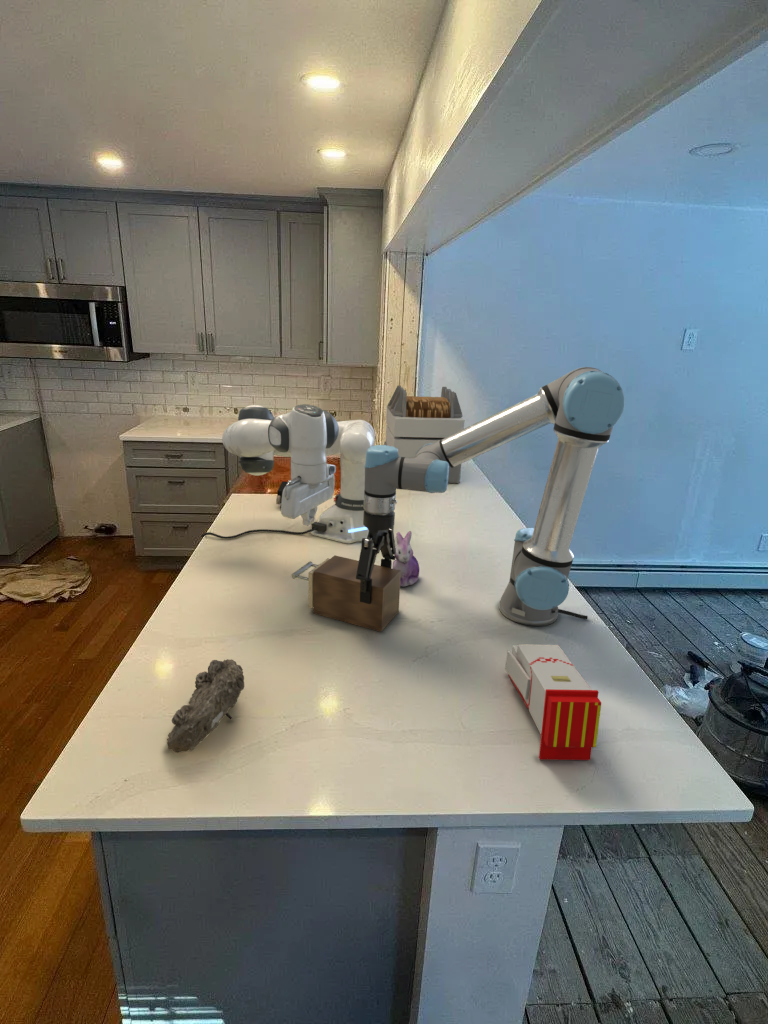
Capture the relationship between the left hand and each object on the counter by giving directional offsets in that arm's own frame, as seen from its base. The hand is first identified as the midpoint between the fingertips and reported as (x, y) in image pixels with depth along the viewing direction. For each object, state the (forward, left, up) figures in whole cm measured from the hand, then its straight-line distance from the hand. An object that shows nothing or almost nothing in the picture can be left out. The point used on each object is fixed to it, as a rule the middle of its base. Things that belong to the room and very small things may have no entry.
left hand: (308, 524), depth 145 cm
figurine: (+22, +20, -22) cm, 37 cm away
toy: (+62, -26, -22) cm, 70 cm away
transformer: (0, +135, -22) cm, 137 cm away
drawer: (+9, -1, -21) cm, 23 cm away
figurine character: (-38, +68, -22) cm, 81 cm away
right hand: (+19, -3, -15) cm, 24 cm away
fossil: (+1, -49, -22) cm, 53 cm away
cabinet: (+14, -2, -22) cm, 26 cm away
